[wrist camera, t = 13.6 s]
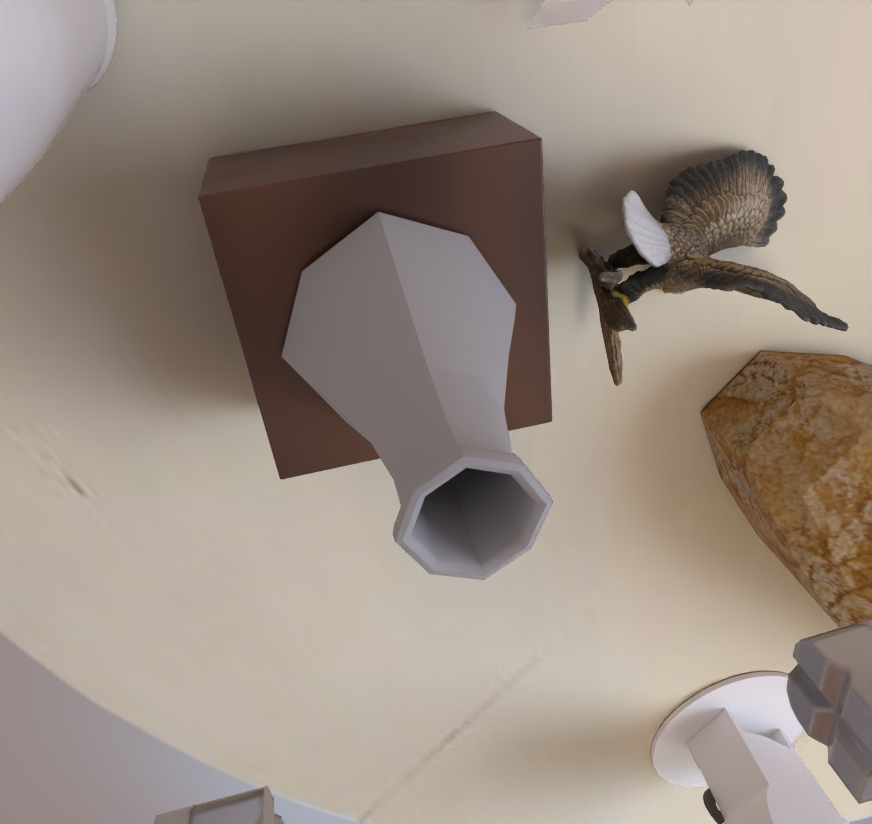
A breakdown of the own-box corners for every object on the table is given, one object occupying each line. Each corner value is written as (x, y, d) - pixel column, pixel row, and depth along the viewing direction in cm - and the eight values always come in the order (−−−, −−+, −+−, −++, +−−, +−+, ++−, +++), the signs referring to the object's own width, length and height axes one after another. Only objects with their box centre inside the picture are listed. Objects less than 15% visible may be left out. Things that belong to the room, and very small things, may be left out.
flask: (423, 454, 26) (499, 680, 18) (241, 361, 23) (228, 584, 14) (551, 292, 24) (707, 464, 15) (368, 165, 21) (440, 294, 12)
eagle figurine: (600, 387, 31) (818, 341, 30) (624, 385, 24) (912, 324, 23) (562, 212, 31) (779, 159, 30) (575, 158, 24) (860, 86, 23)
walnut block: (277, 409, 30) (280, 480, 25) (208, 157, 24) (197, 196, 20) (513, 360, 31) (552, 422, 27) (496, 110, 25) (542, 137, 21)
